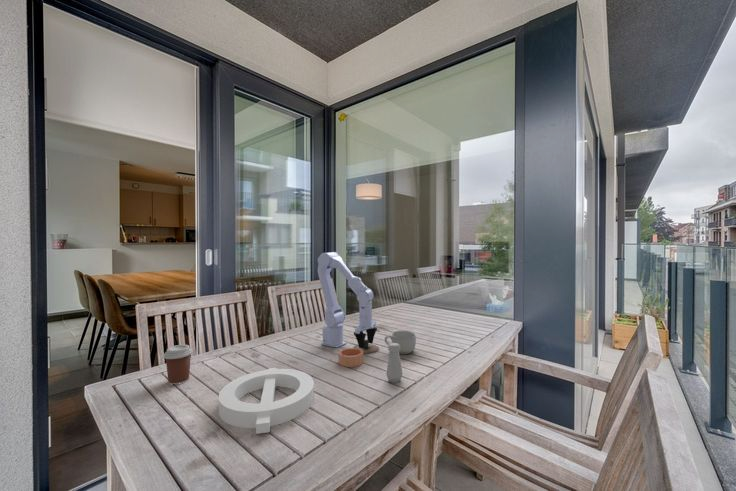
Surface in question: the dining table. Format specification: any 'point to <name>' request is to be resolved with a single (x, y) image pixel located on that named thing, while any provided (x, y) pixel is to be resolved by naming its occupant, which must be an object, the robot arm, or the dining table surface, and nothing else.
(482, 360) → the dining table surface
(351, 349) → the bowl
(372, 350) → the lid
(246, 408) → the ring with crossbar
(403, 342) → the teacup
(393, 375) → the salt shaker
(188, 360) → the coffee cup
